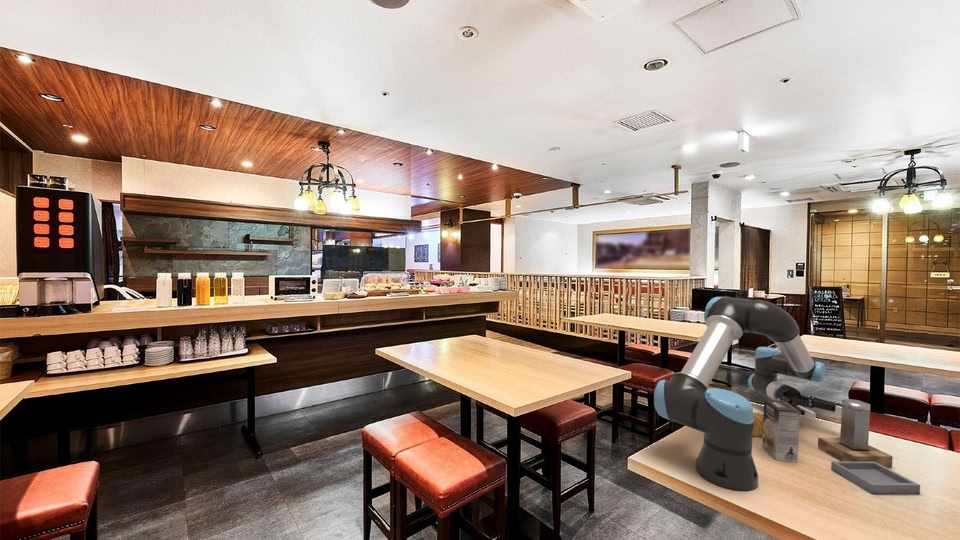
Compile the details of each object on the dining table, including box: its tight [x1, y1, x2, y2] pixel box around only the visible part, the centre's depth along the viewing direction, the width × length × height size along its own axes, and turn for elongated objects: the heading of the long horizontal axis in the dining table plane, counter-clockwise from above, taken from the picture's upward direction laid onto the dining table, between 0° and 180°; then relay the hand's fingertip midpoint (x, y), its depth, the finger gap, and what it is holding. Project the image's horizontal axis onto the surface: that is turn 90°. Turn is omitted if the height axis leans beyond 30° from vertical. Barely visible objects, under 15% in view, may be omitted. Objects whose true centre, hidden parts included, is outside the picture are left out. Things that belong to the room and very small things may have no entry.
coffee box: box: [761, 399, 801, 463], centre depth 126 cm, size 9×6×16 cm
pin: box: [839, 398, 871, 451], centre depth 124 cm, size 6×6×18 cm
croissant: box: [752, 411, 764, 438], centre depth 142 cm, size 21×10×8 cm, turn 104°
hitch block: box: [817, 437, 894, 469], centre depth 124 cm, size 12×12×4 cm
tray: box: [830, 460, 921, 495], centre depth 111 cm, size 13×12×2 cm
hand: (834, 417), depth 131 cm, fingers open, 13 cm apart
